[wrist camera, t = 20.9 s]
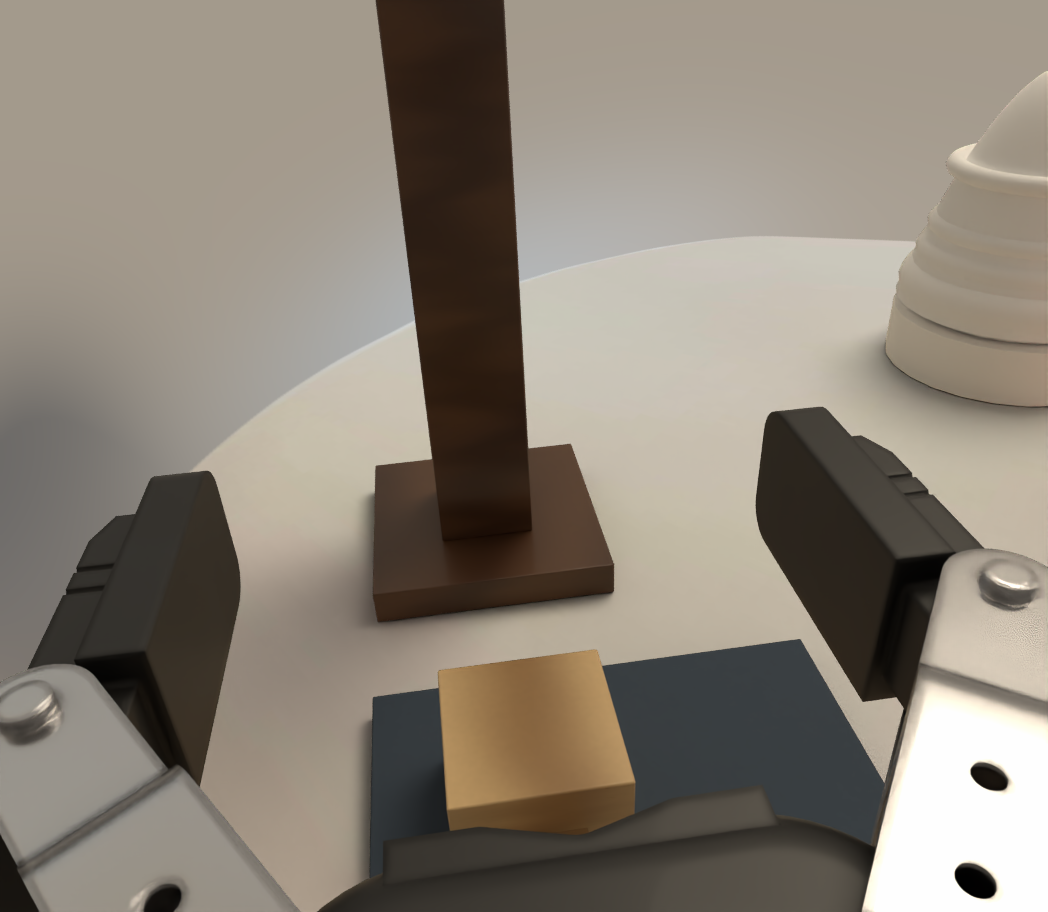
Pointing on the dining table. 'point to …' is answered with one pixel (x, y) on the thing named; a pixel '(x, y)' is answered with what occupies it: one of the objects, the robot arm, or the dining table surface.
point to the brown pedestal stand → (469, 343)
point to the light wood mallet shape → (533, 746)
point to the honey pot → (983, 268)
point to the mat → (667, 742)
